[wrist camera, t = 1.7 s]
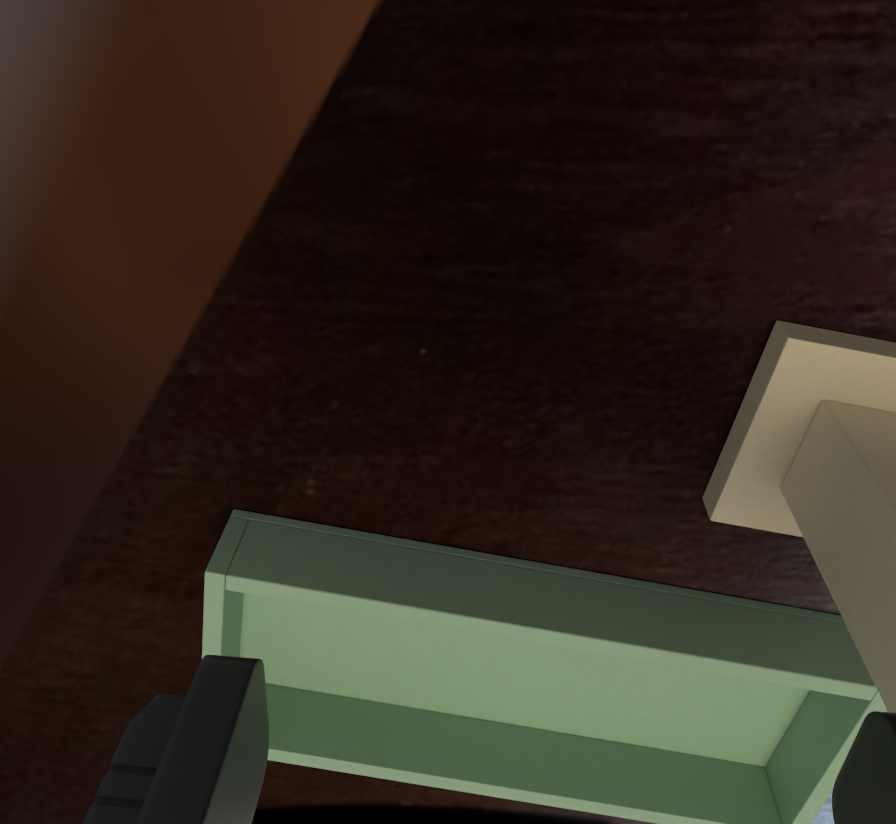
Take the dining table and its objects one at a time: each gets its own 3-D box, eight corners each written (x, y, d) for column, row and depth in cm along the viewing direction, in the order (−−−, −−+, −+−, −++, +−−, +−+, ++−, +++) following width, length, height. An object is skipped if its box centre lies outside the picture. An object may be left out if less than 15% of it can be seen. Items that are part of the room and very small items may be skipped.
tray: (223, 678, 41) (198, 749, 37) (233, 508, 35) (204, 571, 32) (771, 770, 42) (795, 846, 38) (862, 618, 36) (899, 691, 33)
